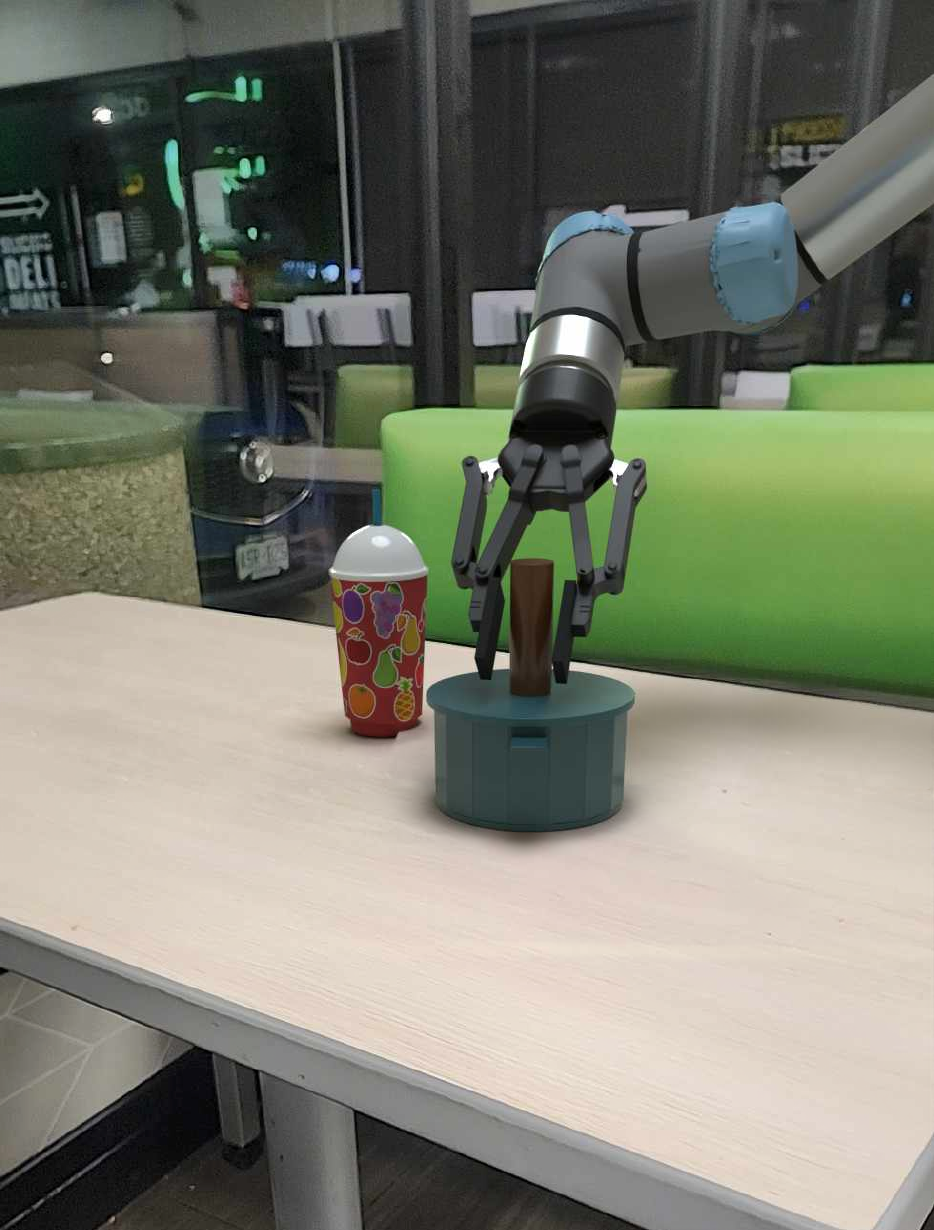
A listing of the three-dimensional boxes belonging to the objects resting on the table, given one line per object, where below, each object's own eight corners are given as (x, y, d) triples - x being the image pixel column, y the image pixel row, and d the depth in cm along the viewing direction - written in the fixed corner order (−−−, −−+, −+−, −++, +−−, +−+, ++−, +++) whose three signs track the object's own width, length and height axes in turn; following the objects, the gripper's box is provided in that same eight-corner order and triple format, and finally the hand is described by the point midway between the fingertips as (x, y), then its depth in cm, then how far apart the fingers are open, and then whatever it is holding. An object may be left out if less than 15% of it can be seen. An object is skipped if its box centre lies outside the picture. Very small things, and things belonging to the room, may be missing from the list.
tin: (615, 763, 101) (619, 670, 98) (629, 847, 84) (634, 737, 81) (446, 761, 102) (445, 668, 99) (425, 844, 85) (423, 735, 82)
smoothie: (416, 713, 116) (411, 483, 108) (443, 736, 109) (440, 492, 101) (327, 721, 113) (315, 487, 105) (349, 745, 106) (337, 496, 98)
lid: (628, 684, 97) (634, 546, 92) (641, 737, 83) (649, 578, 79) (435, 682, 97) (433, 545, 93) (417, 734, 84) (413, 577, 80)
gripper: (687, 437, 95) (653, 706, 87) (459, 435, 99) (407, 693, 91) (686, 360, 88) (649, 645, 80) (442, 361, 92) (383, 633, 84)
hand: (520, 670), depth 85 cm, fingers open, 5 cm apart
